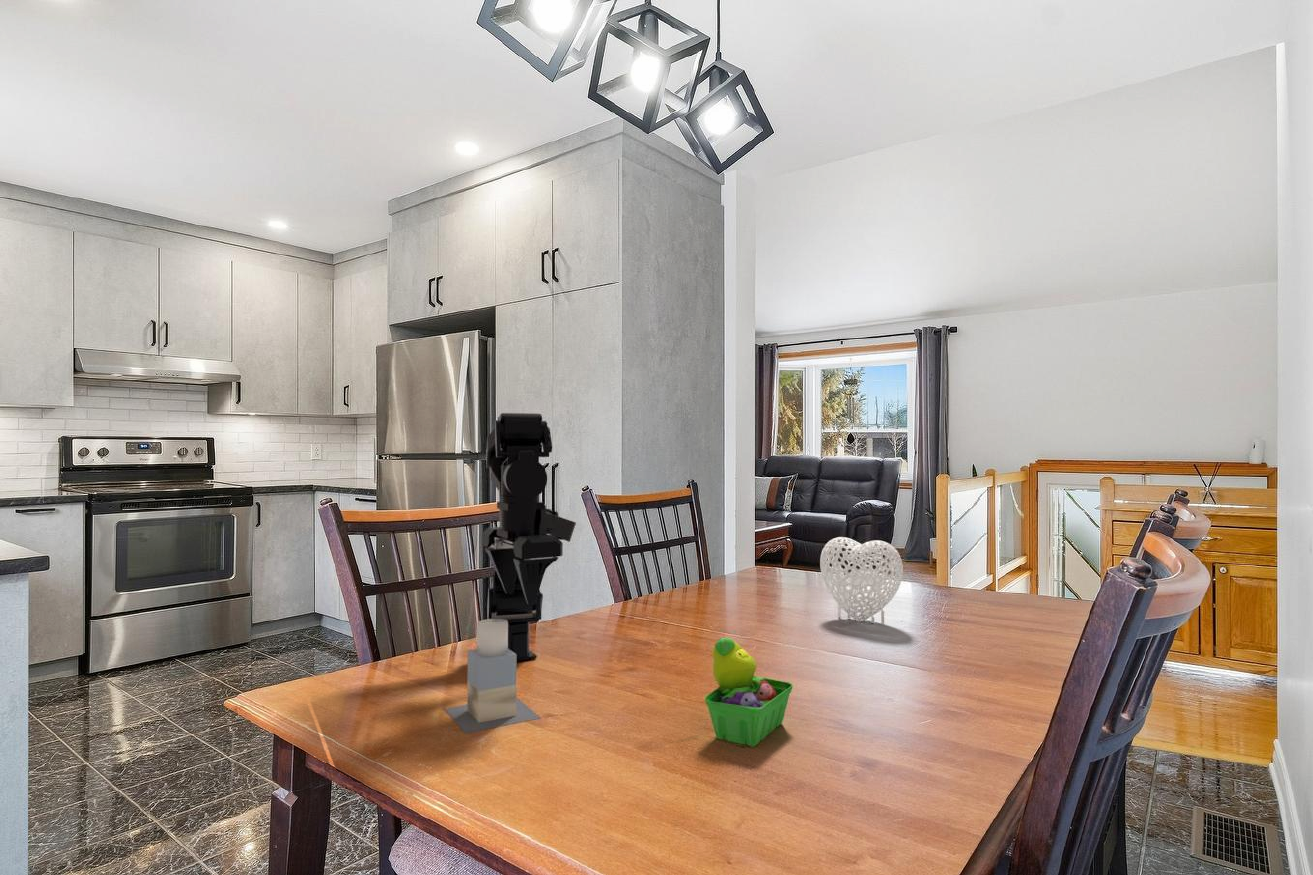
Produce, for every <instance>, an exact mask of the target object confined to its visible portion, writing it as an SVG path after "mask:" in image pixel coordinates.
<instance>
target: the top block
mask: <svg viewBox="0 0 1313 875" xmlns="http://www.w3.org/2000/svg"><path fill="white" fill-rule="evenodd" d="M517 662H518V661H517V654H515V653H514V652H513V651H511V650H510V649H508V652H507V653H506V654H504V655H500V656H492V657H486V656H480V655H478V654H477V648H476V649H471V650H470V649H469V650H467V683H468V682H470V683H471V684H472V685H473V686H474V687H475V688H476V689H477V690H478V691H483V690H489V689H495V688H501V687H506V686H512V685H516V686H517Z"/></svg>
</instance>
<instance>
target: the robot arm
mask: <svg viewBox="0 0 1313 875" xmlns="http://www.w3.org/2000/svg"><path fill="white" fill-rule="evenodd" d="M485 450H486V451H485V452H486V453H485V454H486V455H485V456H486V457H485V461H486V463H485V464H486V468H487V469H488V468H489V476H490V478H489V479H490V480H491V482H492V484H493V485H494V487H495V488H496V489H497V490H498V500H499V501H497V502H496V509H499V510H498V512H499V526H495V527H494V526H493V527H491V526H490V527H487V528H486V529H485V530H484V531H482V533H481V534H482V535H481V536H482V537H481V540H482V542H481V544H482V545H481V546H484V549H485V552H486V553H487V556H488V557H489V559H490V561H491V563H492V566H493V568H494V573H493V575H492V582H491V587H488V590H487V602H486V603H487V604H486V612H487V615H486V617H487V619H505V620H507V621H508V649H510V650H511V651H513V652H514V653H515V654H517V661H516V662H520V661H526V660H532V659H533V660H534V659H537V657H538V656H537V654H536V653H534V652H533V651H531V650H530V636H531V634H530V632H531V631H530V630H531V628H530V625H531V624H530V623H534V622H535V623H539V621H540V620H542V607H543V599H544V595H543V593H542V592H541V585H542V582H543V580H544V579H543V578H544V576H545V573H546V570H547V568H548V567H550V566H552V564H553V563H554V562H557V561H558V560H559V557H562V556H563V549H564V548H563V545H564V544H563V541H565V542H566V541H567V543H569V542H570V541H571V540H572V536H573V534H574V530H575V527H576V525H577V522H576V521H572V520H570V519H567V518H565V517H561V516H559V512H558V511H556V510H552V509H551V508H547V505H546V503H545V502H543V501H540V495H541V494H542V493H543V491H544V490H545V489H546V486H547V483H548V474H547V471H546V469H545V467H544V465H543V464H541V462H540V458H549V457H550V453H552V451H553V443H552V435H551V428H550V427H549V426H548V422H547V420H543V415H542V414H541V413H531V412H530V413H525V412H524V413H523V412H515V413H514V412H501V413H500V414H499V416H498V417H497V419H495V421H494V429H493V430H492V431H491V433H489V434H488V435H487V437H486V449H485Z"/></svg>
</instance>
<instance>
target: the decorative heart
mask: <svg viewBox="0 0 1313 875" xmlns="http://www.w3.org/2000/svg"><path fill="white" fill-rule="evenodd" d="M843 549H845V550H843ZM840 554H842V556H841V555H840ZM884 557H885V558H884ZM839 560H840V561H839ZM888 560H889V561H888ZM845 561H846V562H847V563H846V562H845ZM884 563H885V564H884ZM819 564H820V565H819V567H820V573H821V576H822V580H823V582H824V585H825V586H826V589H827V590H828V593H829V594H830V595H831V597H832V598H833V599H834V601H835V602H836V604H837V618H838V617H841V615H842V610H843V611H844V612H845V613H846V614H847V619H848V618H850V619H851V618H852V619H853V620H854V621H855V620H856V621H855V622H858V621H863V622H865V621H866V620H868V619H870V618H871V623H874V624H875V617H874V616H875V615H876V614H877V613H879V612H881V613H880V614H881V615H880V616H881V618H880V621H881V622H880V624H881V623H882V624H884V625H885V610H883V609H884V608H885V607H886V606H887V605H888V604H889V603H890V602H891V601H892V600H893V598H895V595H896V594H897V592H898V591H899V589H900V586H901V584H902V580H903V572H904V565H903V560H902V558H901V555H900V553H899V551H898V550H897V549H896V548H895V547H894V545H892V544H891V543H889V542H886V541H883V540H878V539H877V540H876V539H875V540H869V541H865V542H864V543H860V542H858V541H856V540H854V539H852V538H849V537H846V536H845V537H844V536H838V537H835V538H832V539H830V540H828V542H827V543H826V544H825V545H824V547H823V548H822V550H821V554H820V559H819ZM830 564H831V565H830ZM851 564H852V566H851ZM883 564H884V565H883ZM842 566H844V568H843V567H842ZM873 566H875V568H873ZM857 567H859V568H857ZM849 571H850V572H849ZM889 571H890V574H889ZM847 587H849V588H850V589H847ZM868 587H869V588H870V589H868ZM865 594H867V595H865ZM859 595H860V596H859ZM841 618H842V617H841Z"/></svg>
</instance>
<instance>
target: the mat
mask: <svg viewBox="0 0 1313 875" xmlns="http://www.w3.org/2000/svg"><path fill="white" fill-rule="evenodd" d="M443 710H444V711H445V712H446V714H448V715H449V717H450V718H451V719H452V720H453V722H455V724H456V725H457V726H458V727H459V728H460V729H461V730H462V731H463V733H464V734H465V735H466V734H471V733H474V732H481V731H486V730H490V729H495V728H500V727H505V726H510V725H515V724H520V723H524V722H529V721H534V720H541V719H542V717H541V716H540V715H538V714H537V712H536V711H534V710H532V709H531V708H530V707H529V706H528V705H526V704H525V703H524V702H523V701H522V700H520V698H518V697H517V696H516V716H511V717H506V718H501V719H496V720H490V721H485V722H480V723H479V722H478V721H477V720H476V719H475V718H474V717H473V716H472V715H471V714H470V713H469V712H468V711H467V703H466V704H462V705H455V706H450V707H446V708H443Z"/></svg>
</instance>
